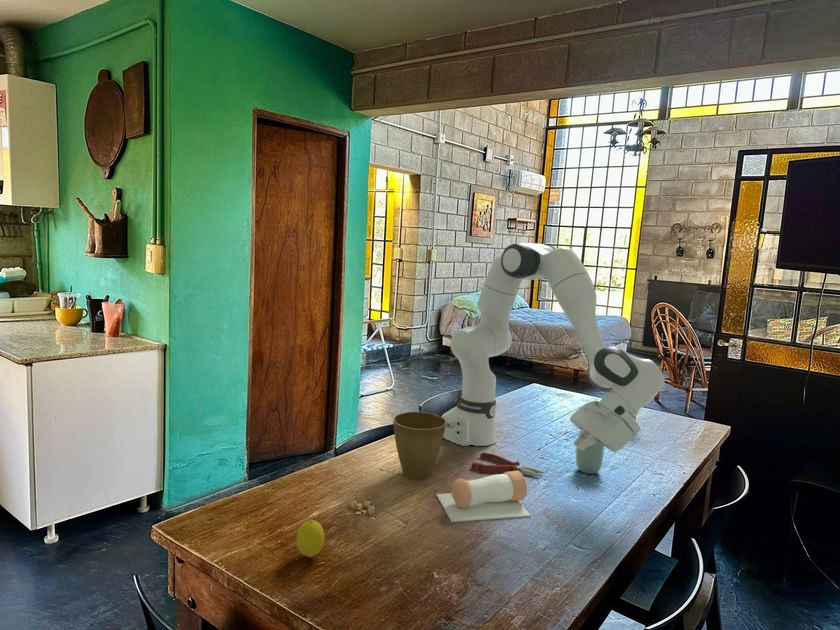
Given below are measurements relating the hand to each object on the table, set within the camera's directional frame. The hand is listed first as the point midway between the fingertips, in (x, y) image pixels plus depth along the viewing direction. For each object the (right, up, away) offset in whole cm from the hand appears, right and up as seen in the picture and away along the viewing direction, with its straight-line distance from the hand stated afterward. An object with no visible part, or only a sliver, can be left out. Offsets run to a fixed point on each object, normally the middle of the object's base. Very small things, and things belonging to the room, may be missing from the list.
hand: (577, 447), depth 144 cm
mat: (-26, -13, -5) cm, 29 cm away
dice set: (-55, -13, -10) cm, 58 cm away
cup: (+9, -12, +20) cm, 25 cm away
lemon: (-64, -15, -32) cm, 73 cm away
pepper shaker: (-15, -9, -1) cm, 18 cm away
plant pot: (-42, -11, +12) cm, 45 cm away
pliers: (-17, -12, +18) cm, 27 cm away
